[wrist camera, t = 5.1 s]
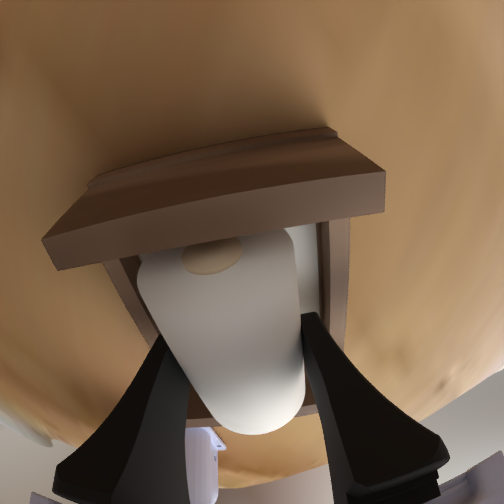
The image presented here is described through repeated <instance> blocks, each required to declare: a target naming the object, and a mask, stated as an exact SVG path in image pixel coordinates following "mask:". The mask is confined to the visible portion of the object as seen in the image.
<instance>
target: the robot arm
mask: <svg viewBox="0 0 504 504" xmlns="http://www.w3.org/2000/svg"><path fill="white" fill-rule="evenodd" d="M300 317H301V330H302V344H303V358H304V363H305V369H306V373H307V376H308V379H309V383H310V386H311V389H312V392H313V396H314V399H315V402H316V406H317V409H318V412H319V416H320V420H321V424H322V428H323V434H324V440H325V445H326V451H327V457H328V463H329V470H330V476H331V483H332V491H333V498H334V504H504V456H503V453H502V451H498V452H496V453H495V454H493V455H492V456H490V457H489V458H487V459H485V460H484V461H482V462H480V463H479V464H477V465H475V466H474V467H472V468H470V469H469V470H467V471H466V472H465V473H463V474H461V475H459V476H457V477H455V478H453V479H451V480H449V481H447V482H445V483H443V484H441V485H439V486H438V483H437V479H438V478H439V475H438V472H437V469H439V468H440V467H442V466H443V465H445V464H446V463H447V462H448V461H449V459H450V456H449V453H448V450H447V448H446V446H445V444H444V442H443V441H442V439H441V438H440V436H439V435H437V434H435V433H434V432H432V431H430V430H429V429H427V428H425V427H424V426H422V425H421V424H419V423H418V422H416V421H415V420H414V419H412V418H411V417H409V416H408V415H407V414H405V413H404V412H403V411H402V410H400V409H399V408H398V407H397V406H395V405H394V404H393V403H392V402H390V401H389V400H388V399H387V398H386V397H385V396H383V395H382V394H381V393H380V392H379V391H378V390H377V389H376V388H375V387H374V386H373V385H372V384H371V383H370V382H369V381H368V380H367V379H366V378H365V377H364V376H363V375H362V374H361V373H360V372H359V371H358V369H357V368H356V367H355V366H354V365H353V364H352V362H351V361H350V360H349V359H348V358H347V356H346V355H345V354H344V352H343V351H342V350H341V349H340V347H339V346H338V345H337V343H336V342H335V341H334V339H333V338H332V336H331V335H330V333H329V332H328V330H327V329H326V327H325V326H324V324H323V322H322V321H321V319H320V317H319V315H318V313H317V312H315V311H314V312H309V313H304V314H300ZM189 389H190V381H189V379H188V378H187V376H186V374H185V373H184V371H183V370H182V368H181V366H180V365H179V363H178V361H177V360H176V358H175V356H174V355H173V353H172V351H171V349H170V348H169V346H168V344H167V343H166V341H165V339H164V337H163V336H162V334H159V335H158V337H157V339H156V340H155V342H154V344H153V346H152V348H151V349H150V351H149V353H148V355H147V357H146V358H145V360H144V362H143V364H142V366H141V367H140V369H139V371H138V372H137V374H136V376H135V378H134V379H133V381H132V383H131V384H130V386H129V387H128V389H127V390H126V392H125V394H124V395H123V397H122V398H121V400H120V401H119V402H118V404H117V405H116V407H115V408H114V409H113V411H112V412H111V413H110V415H109V416H108V417H107V418H106V420H105V421H104V422H103V423H102V424H101V425H100V427H99V428H98V429H97V430H96V431H95V432H94V433H93V434H92V435H91V436H90V437H89V438H88V439H87V440H86V441H85V442H84V443H83V444H82V445H81V446H80V447H79V448H78V449H77V450H76V451H75V452H73V453H72V454H71V455H70V456H68V457H67V458H66V459H65V460H64V461H62V462H61V463H59V464H58V465H57V467H56V471H55V477H54V482H53V488H52V491H53V493H54V494H56V495H58V496H61V497H63V498H66V499H68V500H70V501H73V502H75V503H78V504H214V503H215V502H216V500H217V497H218V450H225V449H226V445H225V444H224V443H223V442H222V440H221V439H220V438H219V437H218V435H217V434H216V433H215V431H214V430H213V429H212V428H211V427H198V428H186V419H187V409H188V399H189ZM30 504H61V503H59V502H57V501H54V500H52V499H49V498H47V497H44V496H42V495H39V494H37V493H35V492H32V493H31V498H30Z"/></svg>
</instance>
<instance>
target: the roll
mask: <svg viewBox="0 0 504 504" xmlns="http://www.w3.org/2000/svg"><path fill="white" fill-rule="evenodd" d="M137 286H138V290H139V292H140V294H141V296H142V298H143V300H144V302H145V304H146V306H147V308H148V310H149V312H150V314H151V315H152V317H153V319H154V321H155V323H156V325H157V327H158V328H159V330H160V332H161V334H162V336H163V337H164V339H165V341H166V343H167V344H168V346H169V348H170V349H171V351H172V353H173V355H174V356H175V358H176V360H177V361H178V363H179V365H180V366H181V368H182V370H183V371H184V373H185V374H186V376H187V378H188V379H189V381H190V382H191V384H192V385H193V387H194V389H195V390H196V392H197V393H198V395H199V396H200V398H201V399H202V401H203V402H204V404H205V405H206V407H207V408H208V410H209V411H210V413H211V414H212V416H213V417H214V418H215V419H216V421H217V422H219V423H220V424H221V425H222V426H224V427H225V428H227V429H229V430H231V431H234V432H237V433H241V434H247V435H257V434H264V433H268V432H271V431H274V430H276V429H278V428H280V427H282V426H284V425H285V424H286V423H288V422H289V421H290V420H291V419H292V418H293V417H294V416H295V415H296V414H297V412H298V411H299V409H300V407H301V406H302V403H303V400H304V397H305V373H304V358H303V344H302V330H301V317H300V305H299V293H298V282H297V272H296V262H295V252H294V245H293V241H292V239H291V237H290V235H289V234H288V233H287V231H286V230H284V229H277V230H272V231H266V232H260V233H254V234H249V235H243V236H237V237H232V238H226V239H221V240H215V241H209V242H204V243H199V244H193V245H188V246H182V247H177V248H172V249H166V250H161V251H156V252H150V253H149V254H148V255H147V256H146V257H145V259H144V260H143V262H142V264H141V266H140V268H139V271H138V274H137Z"/></svg>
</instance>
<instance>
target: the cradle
mask: <svg viewBox="0 0 504 504" xmlns="http://www.w3.org/2000/svg"><path fill="white" fill-rule="evenodd" d="M385 182H386V171H385V170H383V169H382V168H381V167H379V166H378V165H377V164H375V163H374V162H373V161H371V160H370V159H368V158H367V157H366V156H364V155H363V154H361V153H360V152H359V151H357V150H356V149H354V148H353V147H351V146H350V145H349V144H347V143H346V142H344V141H343V140H341V139H340V138H338V133H337V132H336V131H335V130H333V129H331V128H330V127H329V128H319V129H310V130H302V131H294V132H287V133H280V134H273V135H266V136H260V137H254V138H248V139H243V140H237V141H232V142H227V143H221V144H216V145H212V146H207V147H202V148H198V149H193V150H189V151H185V152H180V153H176V154H172V155H168V156H164V157H160V158H156V159H153V160H149V161H145V162H142V163H138V164H135V165H131V166H128V167H124V168H121V169H118V170H114V171H111V172H108V173H105V174H102V175H99V176H96V177H95V178H94V179H93V180H92V181H91V182H90V183H89V184H88V187H89V189H88V190H87V191H86V192H85V193H84V194H83V195H82V196H81V197H80V198H79V199H78V200H77V201H76V202H75V203H74V204H73V205H72V206H71V207H70V208H69V210H68V211H67V212H66V213H65V214H64V215H63V216H62V217H61V218H60V219H59V220H58V221H57V222H56V223H55V225H54V226H53V227H52V228H51V229H50V230H49V231H48V232H47V233H46V235H45V236H44V237H43V238H42V239H41V241H42V243H43V245H44V246H45V248H46V250H47V252H48V254H49V256H50V258H51V260H52V262H53V264H54V265H55V267H56V269H57V271H60V270H65V269H70V268H75V267H80V266H84V265H89V264H94V263H99V262H103V264H104V266H105V268H106V270H107V272H108V274H109V276H110V278H111V280H112V282H113V284H114V286H115V288H116V290H117V291H118V293H119V295H120V297H121V299H122V301H123V302H124V304H125V306H126V308H127V310H128V311H129V313H130V315H131V317H132V318H133V320H134V322H135V323H136V325H137V327H138V329H139V330H140V332H141V334H142V335H143V337H144V338H145V340H146V342H147V343H148V345H149V346H150V348H152V346H153V344H154V342H155V340H156V339H157V337H158V335H159V334H161V332H160V330H159V328H158V327H157V325H156V323H155V321H154V319H153V317H152V315H151V314H150V312H149V310H148V308H147V306H146V304H145V302H144V300H143V298H142V296H141V294H140V292H139V290H138V286H137V274H138V271H139V268H140V266H141V264H142V262H143V260H144V259H145V257H146V256H147V255H148V254H149V253H150V252H156V251H161V250H166V249H172V248H177V247H182V246H188V245H193V244H199V243H204V242H209V241H215V240H221V239H226V238H232V237H237V236H243V235H249V234H254V233H260V232H266V231H272V230H277V229H284V230H286V231H287V233H288V234H289V235H290V237H291V239H292V241H293V245H294V252H295V262H296V272H297V282H298V293H299V305H300V314H304V313H309V312H314V311H315V312H317V313H318V315H319V317H320V319H321V321H322V322H323V324H324V326H325V327H326V329H327V330H328V332H329V333H330V335H331V336H332V338H333V339H334V341H335V342H336V343H337V345H338V346H339V347H340V349H341V350H342V351H343V350H344V339H345V328H346V315H347V300H348V282H349V253H350V217H356V216H362V215H369V214H375V213H381V212H384V210H385ZM304 373H305V397H304V400H303V403H302V406H301V407H300V409H299V411H298V412H297V414H296V415H295V416H294V417H299V416H305V415H310V414H315V413H319V412H318V409H317V406H316V402H315V399H314V396H313V392H312V389H311V386H310V383H309V379H308V376H307V373H306V369H305V363H304ZM294 417H293V418H294ZM217 426H222V425H221V424H220V423H219V422H217V421H216V419H215V418H214V417H213V416H212V414H211V413H210V411H209V410H208V408H207V407H206V405H205V404H204V402H203V401H202V399H201V398H200V396H199V395H198V393H197V392H196V390H195V389H194V387H193V385H192V384H191V382H190V389H189V399H188V409H187V419H186V428H198V427H217Z"/></svg>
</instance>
